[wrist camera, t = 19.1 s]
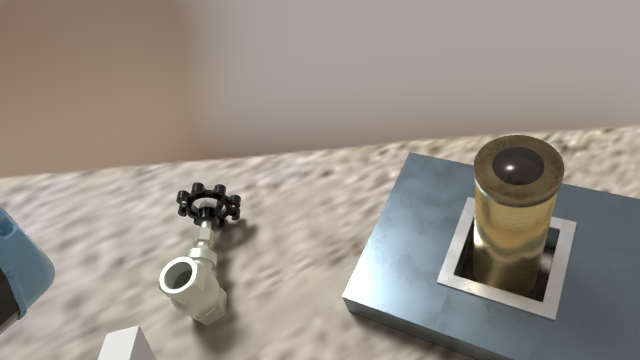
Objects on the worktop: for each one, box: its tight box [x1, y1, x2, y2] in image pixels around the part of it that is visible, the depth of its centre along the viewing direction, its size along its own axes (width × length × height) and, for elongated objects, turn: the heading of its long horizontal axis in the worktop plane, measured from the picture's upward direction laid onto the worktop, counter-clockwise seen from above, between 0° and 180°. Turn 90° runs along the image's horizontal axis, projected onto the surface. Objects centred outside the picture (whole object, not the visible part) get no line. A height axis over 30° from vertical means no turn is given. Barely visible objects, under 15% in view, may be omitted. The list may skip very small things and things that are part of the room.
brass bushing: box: [473, 135, 564, 296], centre depth 35 cm, size 5×5×14 cm
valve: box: [159, 183, 241, 326], centre depth 45 cm, size 7×7×12 cm
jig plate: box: [342, 153, 640, 360], centre depth 39 cm, size 22×16×3 cm
